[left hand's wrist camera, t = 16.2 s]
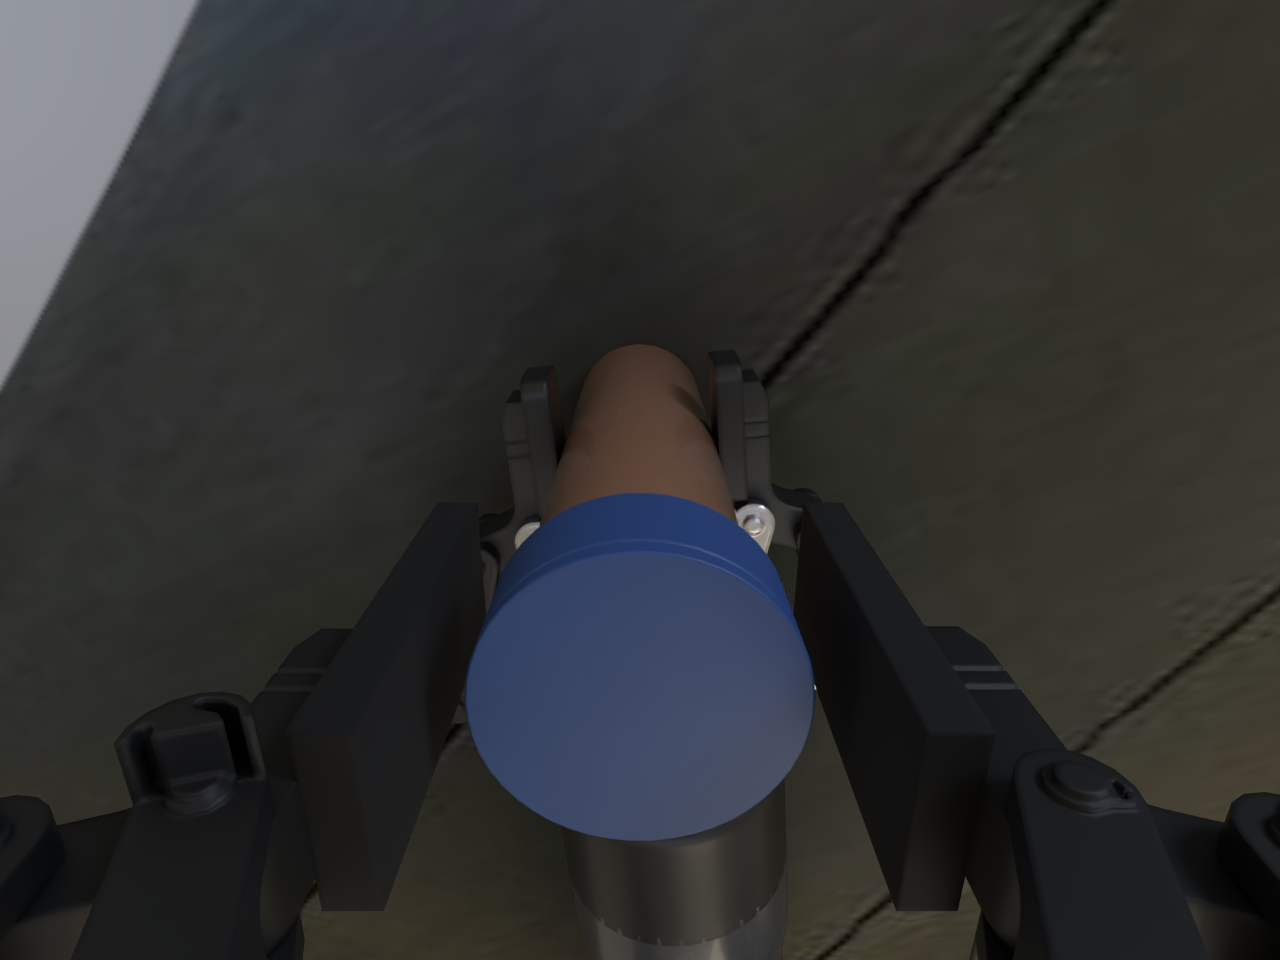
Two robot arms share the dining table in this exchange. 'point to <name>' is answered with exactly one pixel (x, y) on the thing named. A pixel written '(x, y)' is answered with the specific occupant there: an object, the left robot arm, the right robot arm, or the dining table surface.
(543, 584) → the lid
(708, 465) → the jar
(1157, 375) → the dining table surface
